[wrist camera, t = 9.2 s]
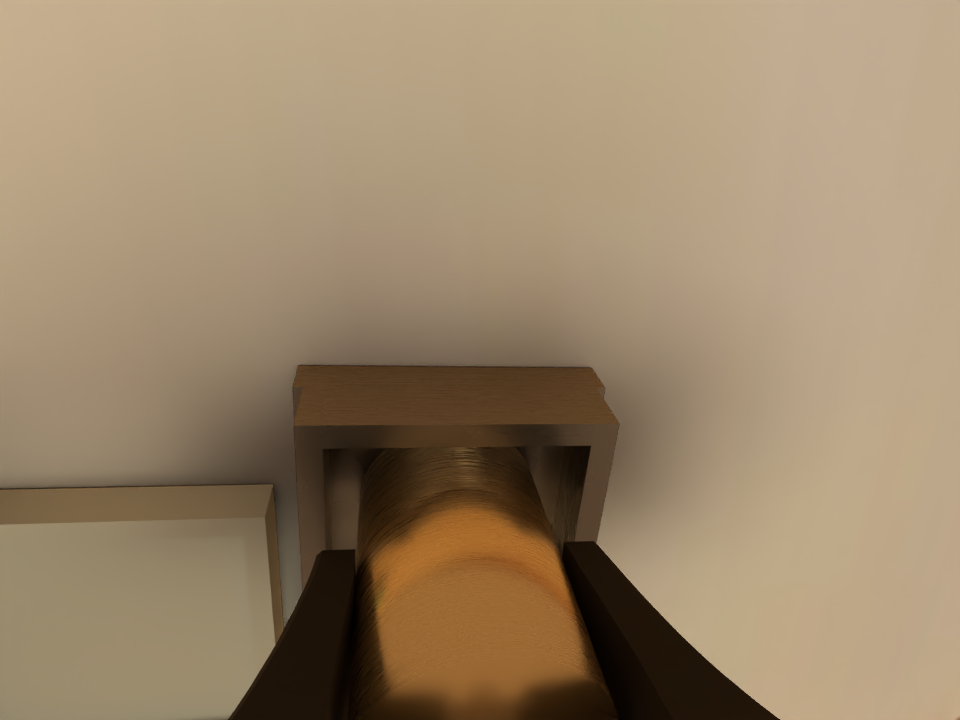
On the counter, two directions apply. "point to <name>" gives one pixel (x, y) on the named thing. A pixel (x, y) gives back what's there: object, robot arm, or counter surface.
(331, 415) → the crate
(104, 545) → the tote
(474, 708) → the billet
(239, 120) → the counter surface
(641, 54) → the counter surface
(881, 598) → the counter surface
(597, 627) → the robot arm
